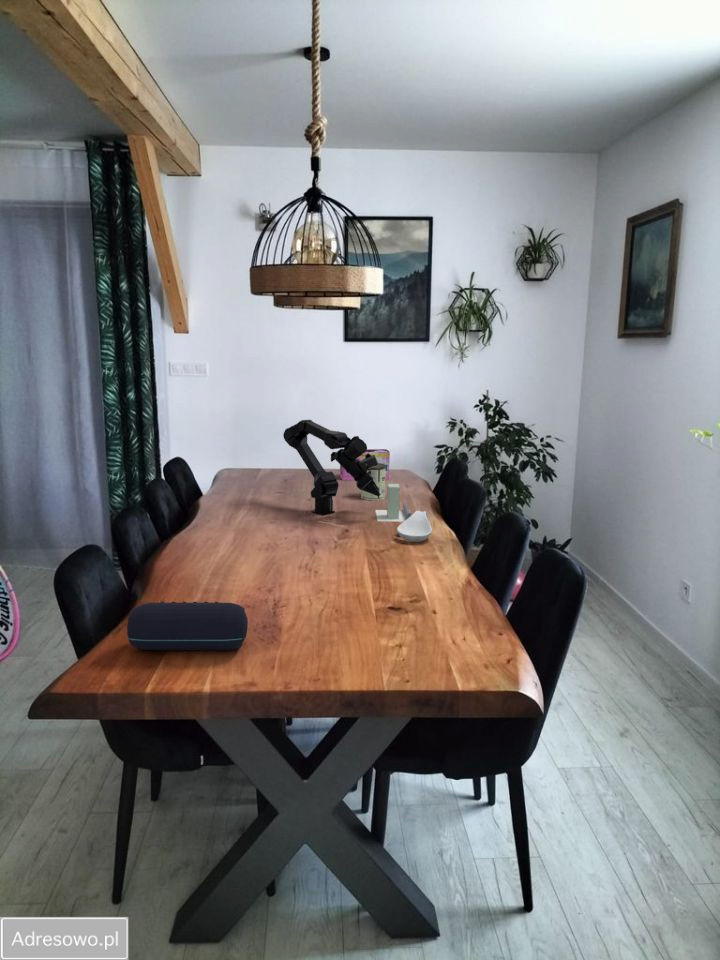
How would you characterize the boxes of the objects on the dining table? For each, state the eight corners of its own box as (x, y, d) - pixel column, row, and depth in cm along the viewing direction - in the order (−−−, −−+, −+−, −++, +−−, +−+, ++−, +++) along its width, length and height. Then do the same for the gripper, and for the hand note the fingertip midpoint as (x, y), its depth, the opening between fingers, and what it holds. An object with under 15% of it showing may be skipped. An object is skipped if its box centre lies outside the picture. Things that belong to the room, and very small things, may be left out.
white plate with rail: (411, 523, 243) (411, 513, 242) (377, 523, 242) (377, 513, 241) (406, 512, 258) (407, 502, 257) (375, 511, 258) (375, 502, 257)
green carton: (399, 519, 246) (400, 487, 243) (387, 518, 245) (388, 487, 243) (397, 515, 251) (399, 484, 248) (386, 514, 251) (387, 483, 248)
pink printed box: (339, 480, 312) (340, 452, 310) (337, 477, 320) (337, 449, 317) (389, 479, 317) (390, 451, 314) (385, 476, 325) (386, 448, 322)
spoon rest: (428, 546, 217) (429, 525, 216) (393, 543, 220) (394, 522, 218) (438, 527, 240) (439, 508, 238) (406, 524, 242) (406, 505, 241)
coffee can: (361, 494, 286) (362, 462, 283) (385, 495, 285) (386, 463, 282) (359, 500, 276) (360, 466, 273) (384, 501, 275) (385, 467, 272)
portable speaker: (251, 637, 149) (250, 595, 147) (245, 658, 140) (244, 613, 138) (137, 637, 148) (135, 595, 146) (124, 658, 138) (121, 613, 136)
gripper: (367, 452, 233) (397, 483, 236) (364, 443, 252) (392, 472, 254) (344, 474, 235) (374, 504, 238) (342, 463, 253) (371, 492, 256)
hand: (378, 492), depth 246 cm, fingers open, 9 cm apart
